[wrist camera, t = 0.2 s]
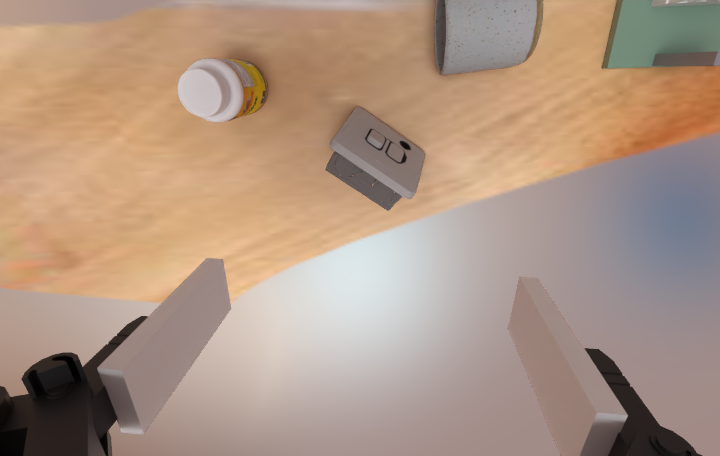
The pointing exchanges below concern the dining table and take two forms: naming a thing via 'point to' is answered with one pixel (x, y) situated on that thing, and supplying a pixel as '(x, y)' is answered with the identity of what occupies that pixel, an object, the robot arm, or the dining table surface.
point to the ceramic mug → (485, 33)
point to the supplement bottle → (222, 89)
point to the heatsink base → (664, 34)
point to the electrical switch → (375, 159)
